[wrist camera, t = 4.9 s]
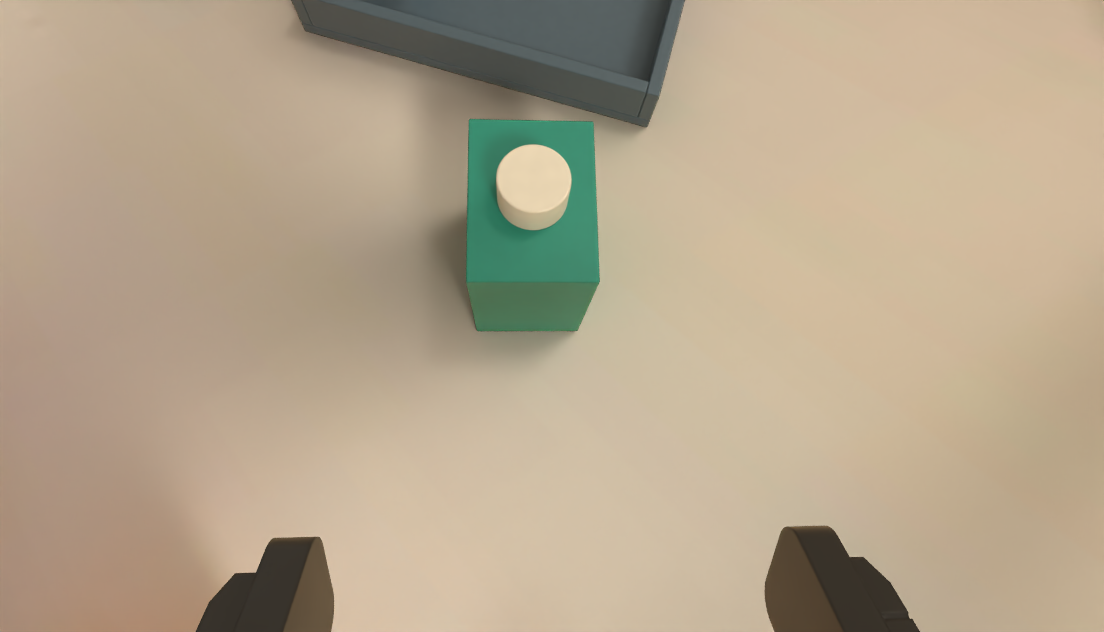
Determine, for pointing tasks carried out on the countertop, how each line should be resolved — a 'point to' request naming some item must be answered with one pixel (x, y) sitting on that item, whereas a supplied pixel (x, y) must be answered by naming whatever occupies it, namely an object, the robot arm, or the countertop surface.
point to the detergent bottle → (531, 224)
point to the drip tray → (522, 44)
